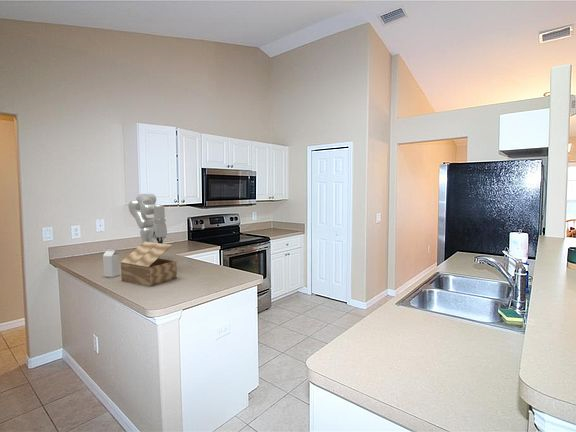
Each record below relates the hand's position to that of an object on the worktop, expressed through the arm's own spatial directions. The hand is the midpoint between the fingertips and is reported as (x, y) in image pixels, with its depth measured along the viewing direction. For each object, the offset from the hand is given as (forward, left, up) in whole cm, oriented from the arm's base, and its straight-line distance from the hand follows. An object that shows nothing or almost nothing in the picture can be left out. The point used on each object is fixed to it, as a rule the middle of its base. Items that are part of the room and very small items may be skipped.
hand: (160, 246), depth 234 cm
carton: (+17, +9, -19) cm, 27 cm away
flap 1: (+19, +2, -1) cm, 19 cm away
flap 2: (+19, +16, -1) cm, 25 cm away
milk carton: (+24, -22, -19) cm, 38 cm away
